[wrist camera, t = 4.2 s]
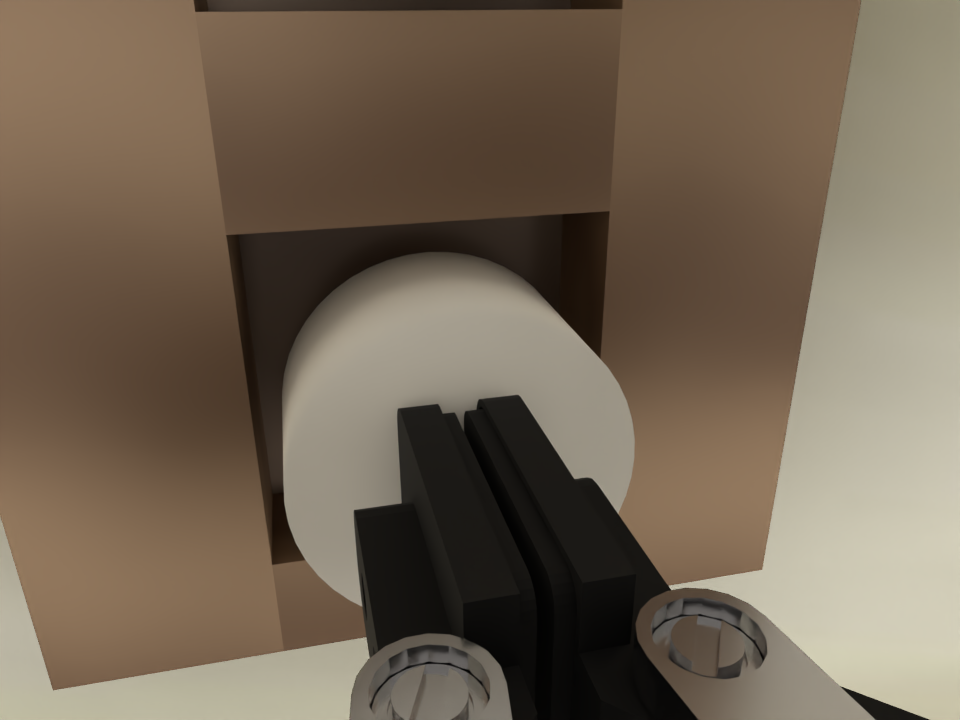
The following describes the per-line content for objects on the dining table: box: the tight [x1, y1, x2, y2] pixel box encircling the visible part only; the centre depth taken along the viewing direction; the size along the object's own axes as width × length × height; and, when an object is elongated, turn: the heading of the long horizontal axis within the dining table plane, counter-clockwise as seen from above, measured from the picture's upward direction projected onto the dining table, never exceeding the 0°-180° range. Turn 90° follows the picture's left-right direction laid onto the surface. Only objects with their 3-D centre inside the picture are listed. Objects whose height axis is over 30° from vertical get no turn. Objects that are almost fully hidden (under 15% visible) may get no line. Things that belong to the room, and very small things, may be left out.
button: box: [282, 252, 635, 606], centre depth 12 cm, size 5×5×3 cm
